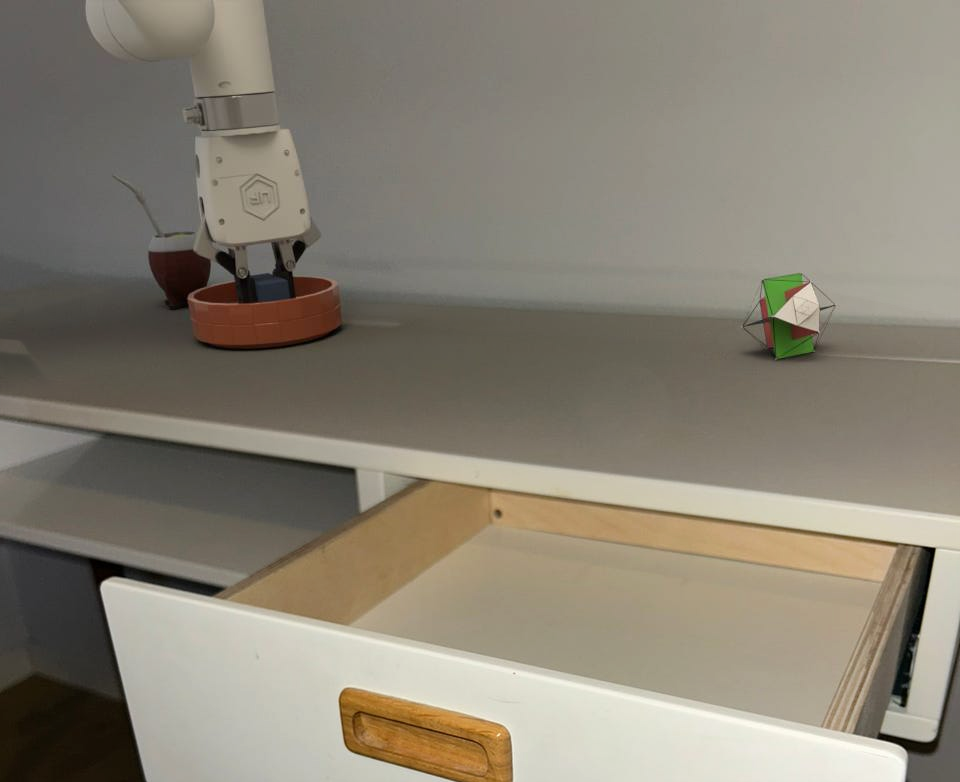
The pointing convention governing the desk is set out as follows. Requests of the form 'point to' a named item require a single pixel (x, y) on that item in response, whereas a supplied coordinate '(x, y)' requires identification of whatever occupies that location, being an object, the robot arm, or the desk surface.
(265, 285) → the blue rectangular block
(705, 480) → the desk surface
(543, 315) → the desk surface
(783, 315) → the geometric puzzle
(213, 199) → the robot arm
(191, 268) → the mate gourd
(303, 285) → the bowl
